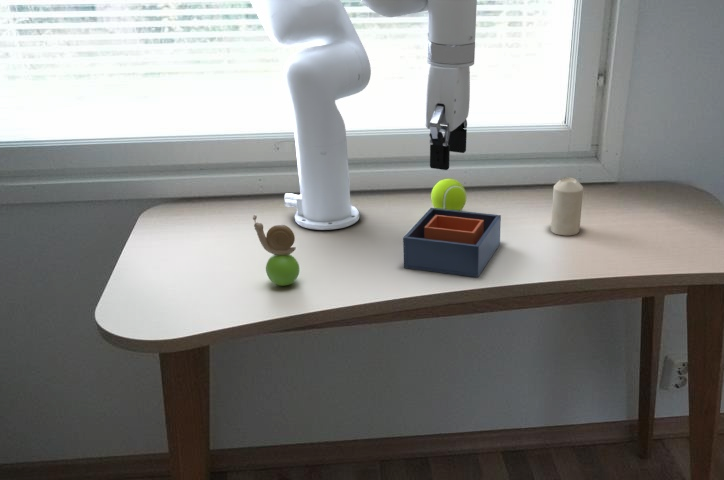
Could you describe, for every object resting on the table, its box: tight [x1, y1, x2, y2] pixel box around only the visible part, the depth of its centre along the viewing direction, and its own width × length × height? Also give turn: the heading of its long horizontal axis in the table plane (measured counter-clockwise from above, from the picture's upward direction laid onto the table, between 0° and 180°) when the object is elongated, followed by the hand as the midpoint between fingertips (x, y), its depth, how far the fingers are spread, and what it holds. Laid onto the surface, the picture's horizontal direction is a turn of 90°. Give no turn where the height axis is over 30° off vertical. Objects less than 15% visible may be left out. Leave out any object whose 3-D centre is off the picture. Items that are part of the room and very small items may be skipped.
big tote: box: [402, 207, 502, 278], centre depth 148 cm, size 13×15×6 cm
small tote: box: [424, 215, 484, 245], centre depth 147 cm, size 9×6×6 cm
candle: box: [550, 176, 584, 236], centre depth 157 cm, size 6×6×10 cm
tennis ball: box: [430, 178, 467, 211], centre depth 165 cm, size 7×7×7 cm
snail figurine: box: [252, 214, 300, 287], centre depth 136 cm, size 5×6×12 cm
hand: (448, 159), depth 141 cm, fingers open, 9 cm apart
